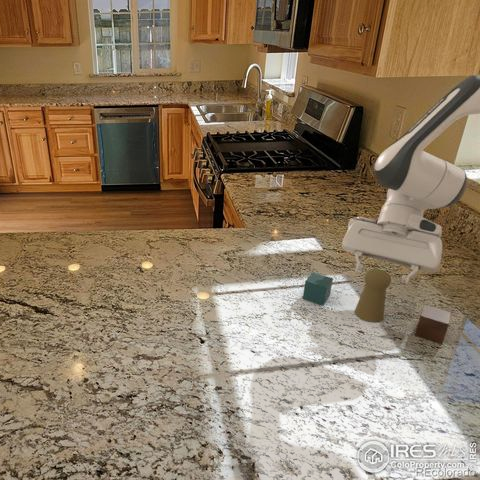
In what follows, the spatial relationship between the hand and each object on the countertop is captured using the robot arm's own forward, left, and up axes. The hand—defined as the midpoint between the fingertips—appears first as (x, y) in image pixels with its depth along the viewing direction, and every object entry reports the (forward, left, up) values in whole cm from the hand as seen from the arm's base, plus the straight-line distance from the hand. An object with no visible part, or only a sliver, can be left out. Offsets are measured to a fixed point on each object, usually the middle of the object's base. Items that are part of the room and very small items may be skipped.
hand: (380, 277), depth 96 cm
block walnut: (-5, +12, -7) cm, 15 cm away
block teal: (+11, -6, -7) cm, 15 cm away
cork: (+3, +3, -8) cm, 9 cm away
